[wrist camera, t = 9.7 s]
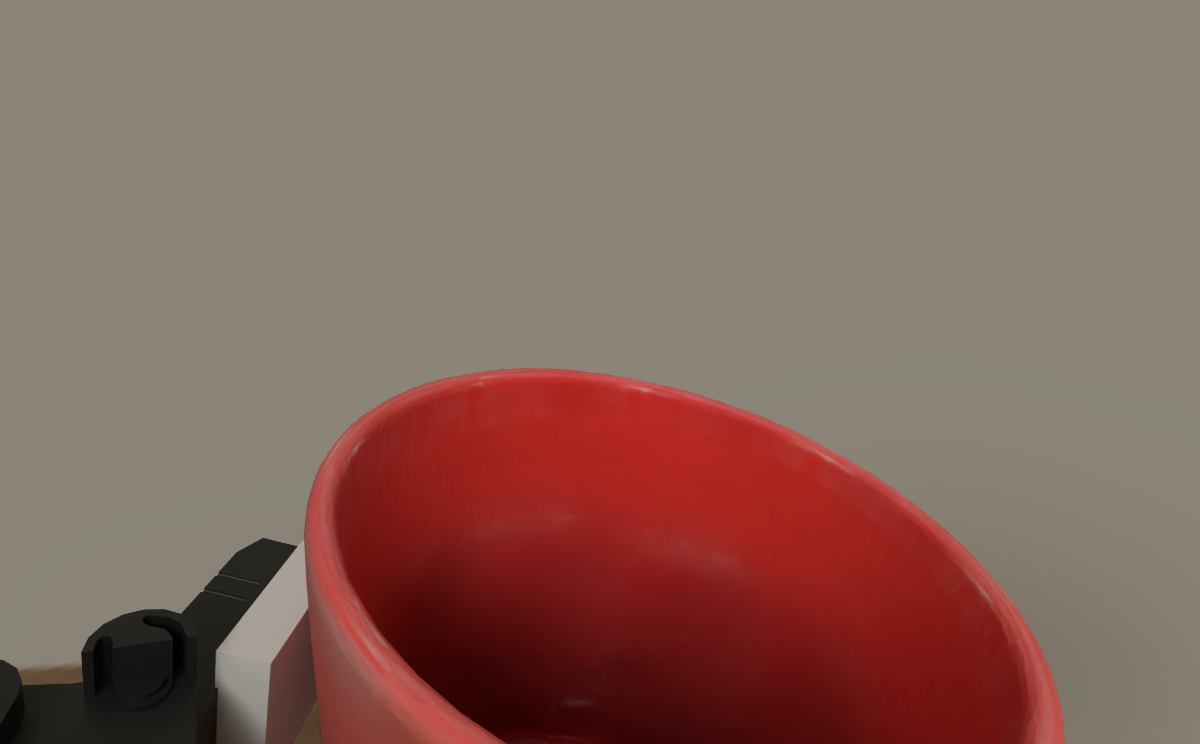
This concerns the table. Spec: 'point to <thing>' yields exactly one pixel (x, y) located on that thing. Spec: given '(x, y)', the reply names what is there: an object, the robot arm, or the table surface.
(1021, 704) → the flower pot
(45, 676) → the table surface
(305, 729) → the table surface
